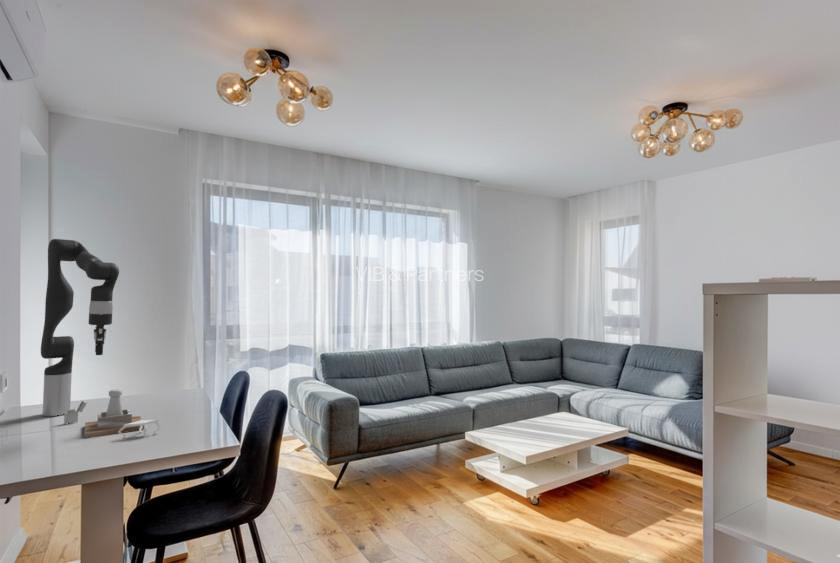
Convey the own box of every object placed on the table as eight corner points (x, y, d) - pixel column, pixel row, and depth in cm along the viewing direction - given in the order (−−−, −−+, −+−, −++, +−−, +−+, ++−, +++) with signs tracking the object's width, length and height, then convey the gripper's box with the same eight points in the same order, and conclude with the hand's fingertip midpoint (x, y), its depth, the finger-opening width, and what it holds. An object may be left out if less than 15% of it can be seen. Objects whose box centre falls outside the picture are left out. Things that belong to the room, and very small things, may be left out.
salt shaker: (107, 426, 166) (109, 391, 167) (102, 424, 170) (103, 389, 170) (125, 423, 171) (126, 389, 171) (120, 421, 174) (121, 387, 175)
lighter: (65, 424, 174) (66, 404, 175) (63, 423, 175) (64, 403, 176) (86, 420, 181) (87, 400, 181) (84, 419, 181) (85, 400, 182)
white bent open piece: (150, 430, 168) (150, 416, 168) (160, 433, 163) (161, 420, 163) (114, 437, 158) (114, 423, 158) (124, 442, 153) (124, 427, 153)
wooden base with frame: (84, 426, 172) (85, 412, 172) (139, 419, 182) (140, 405, 183) (84, 437, 157) (85, 422, 158) (144, 429, 168) (144, 414, 168)
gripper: (88, 311, 179) (86, 351, 178) (89, 313, 167) (87, 356, 167) (111, 311, 183) (109, 351, 183) (113, 313, 172) (111, 355, 171)
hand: (98, 353), depth 175 cm, fingers open, 8 cm apart
